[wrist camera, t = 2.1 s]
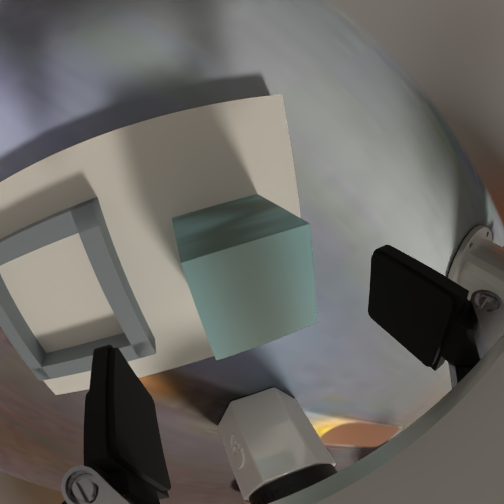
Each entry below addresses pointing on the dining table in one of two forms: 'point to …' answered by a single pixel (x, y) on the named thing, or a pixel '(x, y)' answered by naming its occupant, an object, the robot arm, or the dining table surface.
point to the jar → (272, 447)
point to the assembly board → (128, 235)
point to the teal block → (247, 272)
